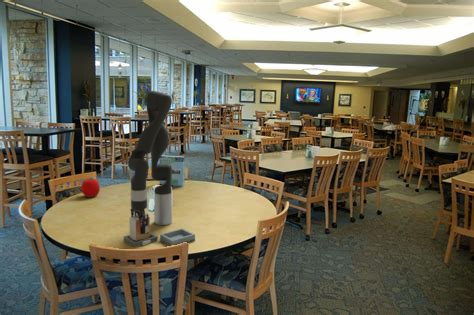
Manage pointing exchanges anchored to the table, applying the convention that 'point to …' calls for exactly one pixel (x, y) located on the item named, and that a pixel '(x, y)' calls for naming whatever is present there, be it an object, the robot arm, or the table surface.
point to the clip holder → (141, 242)
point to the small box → (138, 229)
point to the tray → (177, 237)
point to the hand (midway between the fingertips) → (139, 231)
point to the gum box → (175, 169)
